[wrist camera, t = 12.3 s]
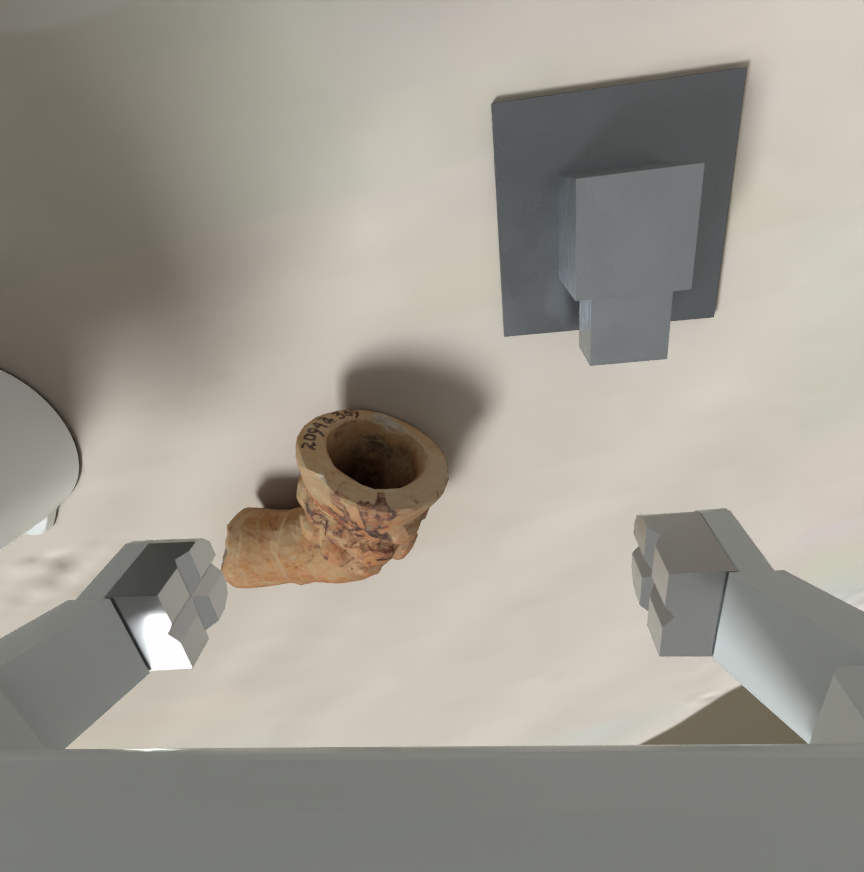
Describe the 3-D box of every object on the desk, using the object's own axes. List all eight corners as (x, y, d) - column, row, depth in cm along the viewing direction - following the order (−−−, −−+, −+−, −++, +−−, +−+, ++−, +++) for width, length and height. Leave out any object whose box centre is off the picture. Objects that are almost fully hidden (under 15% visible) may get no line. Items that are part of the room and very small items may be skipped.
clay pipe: (459, 498, 49) (439, 372, 38) (464, 606, 42) (441, 488, 31) (263, 514, 51) (193, 399, 40) (235, 621, 43) (139, 514, 33)
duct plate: (504, 334, 38) (507, 352, 34) (491, 104, 31) (493, 98, 28) (710, 314, 36) (736, 332, 33) (741, 68, 30) (777, 57, 26)
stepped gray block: (558, 174, 32) (576, 179, 27) (664, 160, 32) (704, 162, 26) (559, 336, 37) (575, 368, 31) (652, 327, 36) (684, 358, 31)
